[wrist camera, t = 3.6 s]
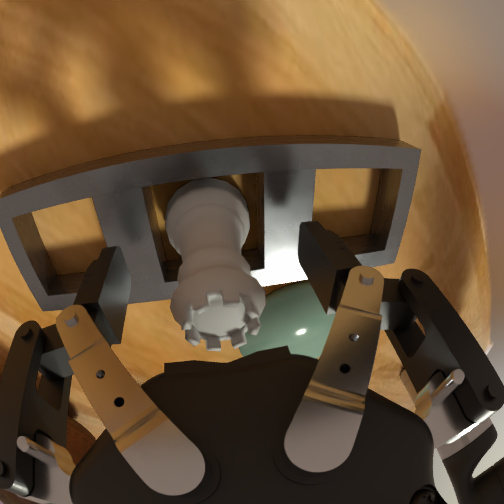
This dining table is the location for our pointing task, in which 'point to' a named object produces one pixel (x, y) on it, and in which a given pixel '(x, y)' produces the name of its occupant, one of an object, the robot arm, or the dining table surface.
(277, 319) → the green dome
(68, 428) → the jug
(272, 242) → the grey compartment tray
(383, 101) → the dining table surface
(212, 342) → the rook chess piece
